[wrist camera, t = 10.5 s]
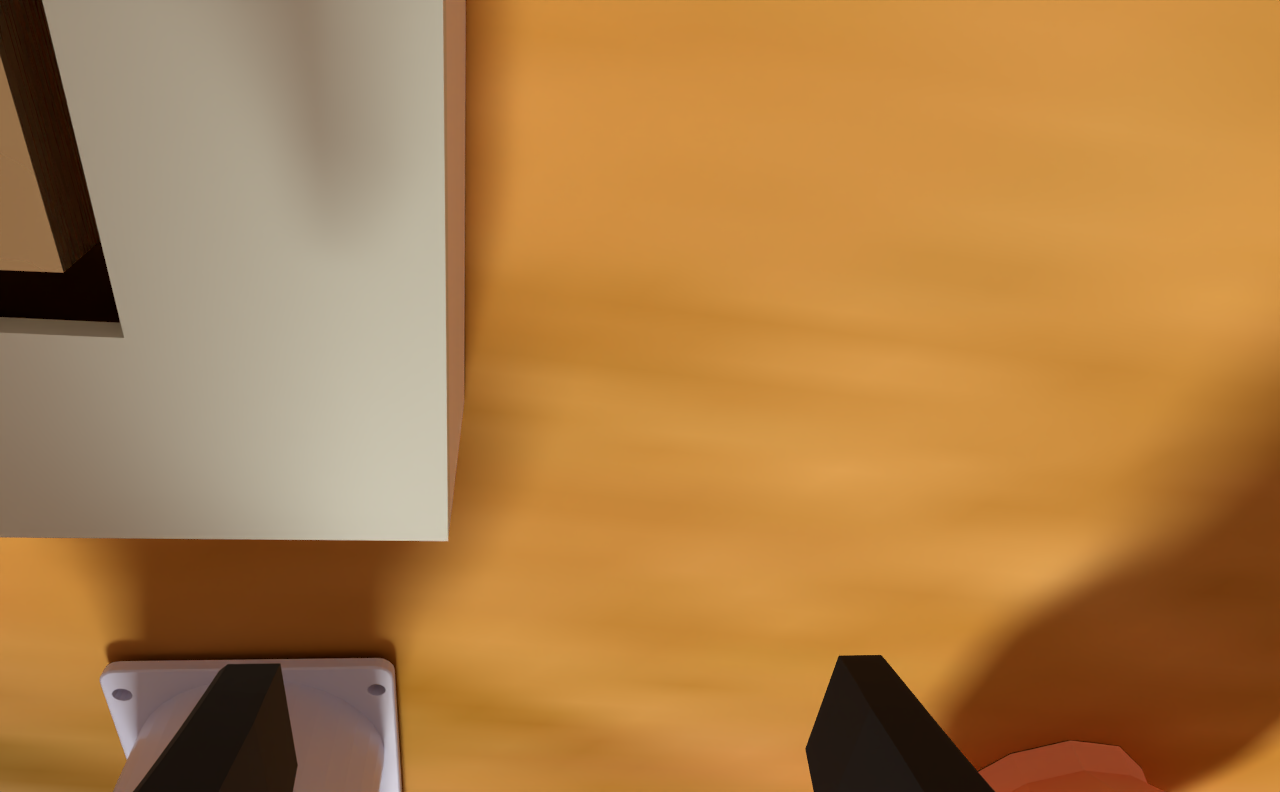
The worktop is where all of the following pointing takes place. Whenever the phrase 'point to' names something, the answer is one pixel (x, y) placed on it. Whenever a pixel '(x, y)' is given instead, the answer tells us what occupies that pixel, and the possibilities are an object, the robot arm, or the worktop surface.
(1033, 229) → the worktop surface
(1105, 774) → the potted cactus
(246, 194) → the box
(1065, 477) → the worktop surface
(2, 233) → the wooden block
